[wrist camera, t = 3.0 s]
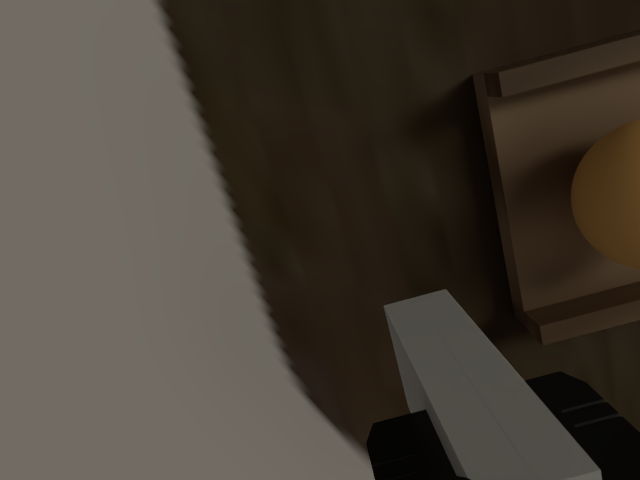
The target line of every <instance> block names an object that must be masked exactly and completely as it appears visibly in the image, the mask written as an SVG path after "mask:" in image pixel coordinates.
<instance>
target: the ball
mask: <svg viewBox="0 0 640 480" xmlns="http://www.w3.org/2000/svg"><path fill="white" fill-rule="evenodd" d="M571 206H572V211H573V216H574V218H575V221H576V224H577V226H578V227H579V229H580V231H581V233H582V235H583V236H584V237H585V239H586V240H587V241H588V242H589V243H590V244H591V245H592V246H593V247H594V248H595V249H596V250H597V251H598V252H600V253H601V254H603V255H604V256H606V257H607V258H609V259H611V260H613V261H615V262H617V263H619V264H622V265H625V266H627V267H630V268H636V269H640V119H639V120H635V121H632V122H629V123H626V124H624V125H622V126H620V127H618V128H616V129H614V130H612V131H610V132H609V133H607V134H606V135H604V136H603V137H602V138H601V139H599V140H598V141H597V142H596V143H595V144H594V145H593V146H592V147H591V148H590V149H589V150H588V152H587V153H586V154H585V155H584V157H583V158H582V160H581V162H580V163H579V165H578V167H577V170H576V172H575V175H574V178H573V182H572V187H571Z"/></svg>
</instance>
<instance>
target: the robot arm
mask: <svg viewBox="0 0 640 480" xmlns="http://www.w3.org/2000/svg"><path fill="white" fill-rule="evenodd" d="M384 309H385V313H386V318H387V322H388V326H389V330H390V334H391V338H392V342H393V346H394V350H395V354H396V358H397V363H398V367H399V371H400V375H401V379H402V383H403V387H404V391H405V395H406V399H407V403H408V407H409V410H410V412H411V413H410V414H406V415H403V416H399V417H395V418H391V419H388V420H384V421H380V422H377V423H373V425H372V428H371V431H370V434H369V437H368V440H367V443H366V444H367V448H368V453H369V457H370V461H371V465H372V469H373V473H374V477H375V480H640V433H639V432H638V431H637V430H636V429H635V428H634V427H633V426H632V425H631V424H630V423H629V422H628V421H627V420H626V419H624V418H623V417H620V416H619V413H618V412H617V411H616V410H615V409H614V408H613V407H612V406H611V405H610V404H608V403H607V402H606V403H605V402H604V399H603V398H602V397H601V396H600V395H599V394H598V393H597V392H596V391H595V390H594V389H592V388H591V387H590V386H589V385H588V384H587V383H586V382H584V381H582V380H579V379H577V378H574V377H572V376H570V375H567V374H565V373H563V372H560V371H559V372H555V373H552V374H548V375H544V376H541V377H537V378H533V379H529V380H526V381H524V380H523V379H522V378H521V376H520V375H519V374H518V373H517V372H516V371H515V369H514V368H513V367H512V366H511V365H510V364H509V362H508V361H507V360H506V359H505V358H504V357H503V355H502V354H501V353H500V352H499V351H498V350H497V348H496V347H495V346H494V345H493V344H492V342H491V341H490V340H489V339H488V338H487V337H486V335H485V334H484V333H483V332H482V331H481V330H480V328H479V327H478V326H477V325H476V324H475V323H474V321H473V320H472V319H471V318H470V317H469V316H468V314H467V313H466V312H465V311H464V310H463V309H462V307H461V306H460V305H459V304H458V303H457V302H456V300H455V299H454V298H453V297H452V296H451V295H450V293H449V292H448V291H447V290H446V289H444V290H441V291H437V292H433V293H429V294H426V295H422V296H418V297H414V298H411V299H407V300H403V301H399V302H396V303H392V304H388V305H385V306H384Z"/></svg>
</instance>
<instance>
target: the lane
mask: <svg viewBox="0 0 640 480" xmlns="http://www.w3.org/2000/svg"><path fill="white" fill-rule="evenodd" d="M473 81H474V87H475V92H476V98H477V104H478V110H479V115H480V121H481V127H482V132H483V138H484V144H485V150H486V155H487V161H488V167H489V172H490V178H491V184H492V190H493V195H494V201H495V207H496V212H497V218H498V224H499V230H500V235H501V241H502V247H503V252H504V258H505V264H506V270H507V275H508V281H509V287H510V292H511V298H512V304H513V309H514V315H515V318H516V319H517V320H518V321H519V322H520V323H521V324H522V325H523V326H524V327H525V328H526V329H527V330H528V331H529V332H530V333H531V334H532V335H533V336H534V337H535V338H536V339H537V340H538V341H539V342H540V343H541V344H542V345H547V344H551V343H554V342H558V341H562V340H566V339H570V338H573V337H577V336H581V335H585V334H589V333H592V332H596V331H600V330H604V329H607V328H611V327H615V326H619V325H623V324H626V323H630V322H634V321H638V320H640V269H636V268H630V267H627V266H625V265H622V264H619V263H617V262H615V261H613V260H611V259H609V258H607V257H606V256H604V255H603V254H601V253H600V252H598V251H597V250H596V249H595V248H594V247H593V246H592V245H591V244H590V243H589V242H588V241H587V240H586V239H585V237H584V236H583V235H582V233H581V231H580V229H579V227H578V226H577V224H576V221H575V218H574V216H573V211H572V206H571V187H572V182H573V178H574V175H575V172H576V170H577V167H578V165H579V163H580V162H581V160H582V158H583V157H584V155H585V154H586V153H587V152H588V150H589V149H590V148H591V147H592V146H593V145H594V144H595V143H596V142H597V141H598V140H599V139H601V138H602V137H603V136H604V135H606V134H607V133H609V132H610V131H612V130H614V129H616V128H618V127H620V126H622V125H624V124H626V123H629V122H632V121H635V120H639V119H640V30H637V31H633V32H630V33H626V34H622V35H619V36H615V37H611V38H607V39H604V40H600V41H596V42H592V43H589V44H585V45H581V46H577V47H574V48H570V49H566V50H562V51H559V52H555V53H551V54H547V55H544V56H540V57H536V58H532V59H529V60H525V61H521V62H517V63H514V64H510V65H506V66H503V67H499V68H495V69H491V70H488V71H484V72H480V73H476V74H473Z"/></svg>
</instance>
